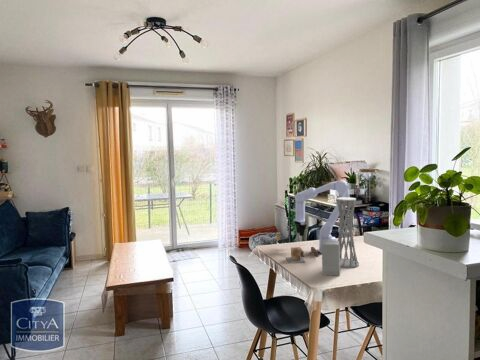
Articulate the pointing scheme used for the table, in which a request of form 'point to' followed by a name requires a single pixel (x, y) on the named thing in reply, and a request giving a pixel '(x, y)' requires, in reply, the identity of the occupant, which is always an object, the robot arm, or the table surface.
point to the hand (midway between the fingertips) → (300, 234)
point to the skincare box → (331, 258)
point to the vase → (353, 259)
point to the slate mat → (295, 260)
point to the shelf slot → (311, 252)
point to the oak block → (295, 253)
